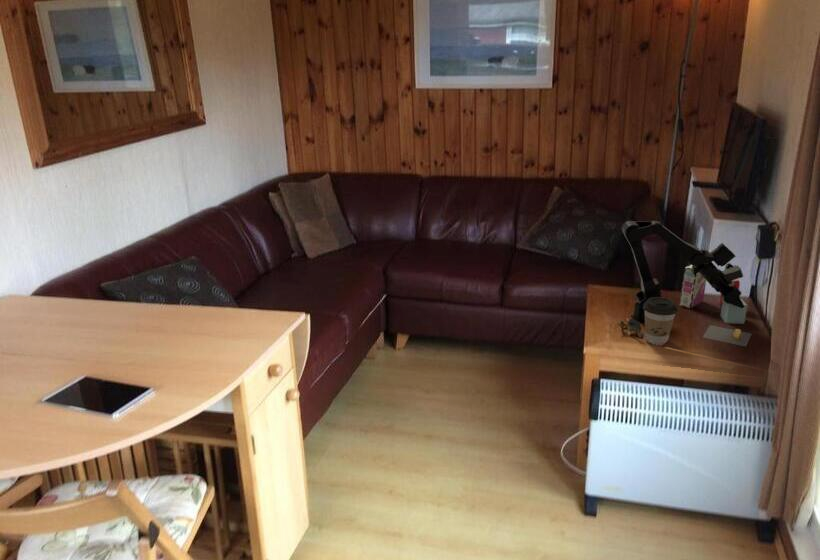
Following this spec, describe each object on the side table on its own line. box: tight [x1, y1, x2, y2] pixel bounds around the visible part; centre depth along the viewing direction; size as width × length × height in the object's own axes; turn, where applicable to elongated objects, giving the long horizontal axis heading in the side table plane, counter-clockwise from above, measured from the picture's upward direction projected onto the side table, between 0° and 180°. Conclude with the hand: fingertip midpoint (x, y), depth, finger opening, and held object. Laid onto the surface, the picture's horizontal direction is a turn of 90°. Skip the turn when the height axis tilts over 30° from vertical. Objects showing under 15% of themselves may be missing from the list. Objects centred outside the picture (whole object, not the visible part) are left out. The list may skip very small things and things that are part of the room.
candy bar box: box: [679, 264, 707, 309], centre depth 257 cm, size 11×5×16 cm, turn 133°
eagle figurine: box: [616, 317, 645, 339], centre depth 234 cm, size 8×7×9 cm
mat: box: [702, 324, 752, 347], centre depth 230 cm, size 14×12×3 cm
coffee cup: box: [643, 296, 679, 346], centre depth 227 cm, size 11×11×15 cm
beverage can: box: [718, 278, 741, 308], centre depth 254 cm, size 6×6×12 cm
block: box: [720, 298, 748, 325], centre depth 242 cm, size 6×6×8 cm
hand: (738, 302), depth 240 cm, fingers open, 9 cm apart
